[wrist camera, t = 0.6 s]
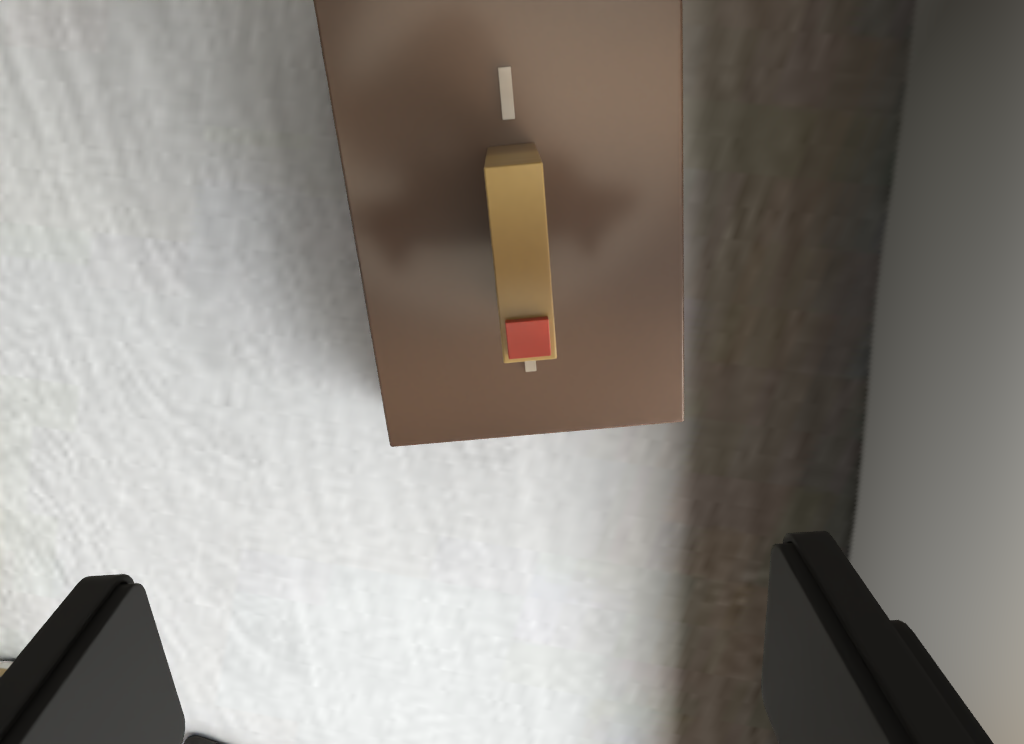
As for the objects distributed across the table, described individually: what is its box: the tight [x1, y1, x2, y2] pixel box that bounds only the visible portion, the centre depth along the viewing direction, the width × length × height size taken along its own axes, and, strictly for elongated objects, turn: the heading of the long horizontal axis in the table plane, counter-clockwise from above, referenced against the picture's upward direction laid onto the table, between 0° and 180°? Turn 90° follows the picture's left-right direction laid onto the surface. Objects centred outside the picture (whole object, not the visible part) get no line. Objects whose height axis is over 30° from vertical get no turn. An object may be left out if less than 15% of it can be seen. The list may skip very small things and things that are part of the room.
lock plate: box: [313, 0, 684, 447], centre depth 24 cm, size 14×10×3 cm
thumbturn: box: [484, 143, 557, 363], centre depth 21 cm, size 5×1×5 cm, turn 5°
